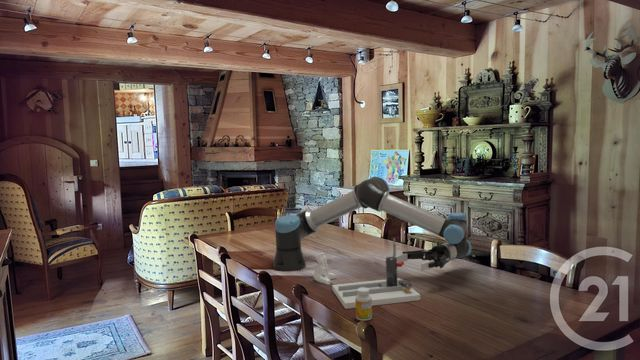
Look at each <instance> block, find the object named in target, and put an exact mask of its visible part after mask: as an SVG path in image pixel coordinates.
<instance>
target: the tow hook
mask: <svg viewBox="0 0 640 360" xmlns="http://www.w3.org/2000/svg"><path fill="white" fill-rule="evenodd" d="M392 251H393V252H392V253H393V254H392V257H395V256H397V243H396V238H395V237H393V243H392ZM404 263H405V261H403V262H399V263H397V267H402V266H403V264H404Z"/></svg>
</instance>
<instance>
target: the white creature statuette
mask: <svg viewBox="0 0 640 360" xmlns="http://www.w3.org/2000/svg"><path fill="white" fill-rule="evenodd" d="M314 258H315V260H316V261H317V263H318V264H317V265H316V270H315V271H314V273H313V279H314V281H316V282H317V283H321V284H324V285H326V286H329V285H331V283H332V281H331V280H336V277H337V276H336V274H335V273H333V272H329V270H328V265H327V257H326V255H325V254H324V252H320V253H318V254H316V256H315V257H314Z"/></svg>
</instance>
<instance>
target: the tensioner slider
mask: <svg viewBox="0 0 640 360" xmlns="http://www.w3.org/2000/svg"><path fill="white" fill-rule="evenodd" d="M385 271H386V274H385V275H386V277H385V279H386V283H380V287H381V288H383V287H392V286H401V285H404V287H406V288H410V287H411V288H412V289H413V288H414V287H413V284H412V283H411V282H410V281H408V280H404V281H397V278H398V266H397V258H396V257H393V256H388V257H385Z"/></svg>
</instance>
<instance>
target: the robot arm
mask: <svg viewBox="0 0 640 360" xmlns="http://www.w3.org/2000/svg"><path fill="white" fill-rule="evenodd" d="M360 208H363V209H368V208H369V209H372V210H374V211H376V212H379V213H380V212H384V213H387V214H389V215H391V216H393V217H396V218H398V219H400V220H402V221H405V222H407V223H409V224H412V225H414V226H417V227H418V228H421V229H423V230H424V231H428V232H429V233H432V234H434V235H436V236H438V237H440V238H442V239H444V241H446V242H444V243H440V244H438V245H434V246H432V248H431V249H430V250H427V251H425V249H419V250H407V251H402V254H399V255H396V256H395V257H396V258H397V263H399V262H403V261H404V262H407V261H408V260H422V261H423V262H421V264H420V270H421V271H422V272H424V271H427V270H429V269H433V268H438V267H439V269H443V268H444V267H445V266H446V264H447V263H449V262H450V261H453V260H457V259H462V258H465V257H466V256H469V255H470V254H471V253H472V250H473V246H472V244H471V241H469V240H468V239H467V228H468V227H467V226H468V225H467V223H468V222H467V221H468V220H467V214H465V213H464V212H450V213H449V214H448V219H447V218H445V217H443V216H441V215H438V214H436V213H434V212H431V211H428V210H427V209H425V208H422V207H420V206H417V205H415V204H413V203H411V202H408V201H406V200H404V199H400V198H398V197H397V196H394V195H391V194H390V186H389V184H388V182H387V181H386V180H385V179H384V178H382V177H380V176H372V177H370V178H367V179H365V180H363V181H361V182H360V183H358V184H357V185H355V186H353V189H352V190H351V191H349V192H348V193H345V194H343V195H341V196H339V197H337V198H335V199H333V200H331V201H329V202H327V203H325V204H322V205H321V206H319V207H317V208H315V209H313V210H312V209H309V208H308V209H305V210H304V211H301V212H300V213H297V214H286V215H281V216H279V217H277V218H276V219H275V223H274V224H275V225H274V232H275V233H274V234H275V247H276V248H275V249H276V250H275V253H274V259H273V263H272V265H273V267H272V268H273V269H274V270H276V271H280V270H281V272H293V271H292V270H294V271H298V269H299V270H301V268H302V269H303V268H305V267H306V259H305V255H304V253H303V251H302V239H305V238H306V237H309V236H311V235H313V234H314V233H317V232H319V230H320V228H321V227H322V226H324V225H326V224H329V223H331V222H332V221H335V220H337V219H340V218H342V217H343V216H346V215H347V214H349V213H352V212H353V211H356V210H358V209H360Z"/></svg>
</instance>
